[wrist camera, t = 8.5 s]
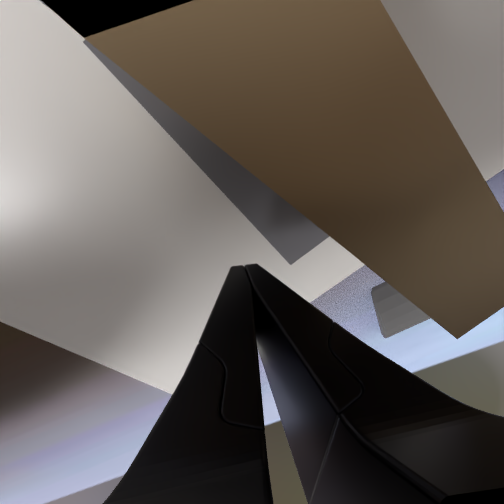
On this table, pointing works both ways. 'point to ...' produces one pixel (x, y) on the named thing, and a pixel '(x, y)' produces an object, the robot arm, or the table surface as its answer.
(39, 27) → the mat
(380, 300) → the half round rod
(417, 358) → the table surface
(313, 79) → the fence fold
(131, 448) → the table surface
